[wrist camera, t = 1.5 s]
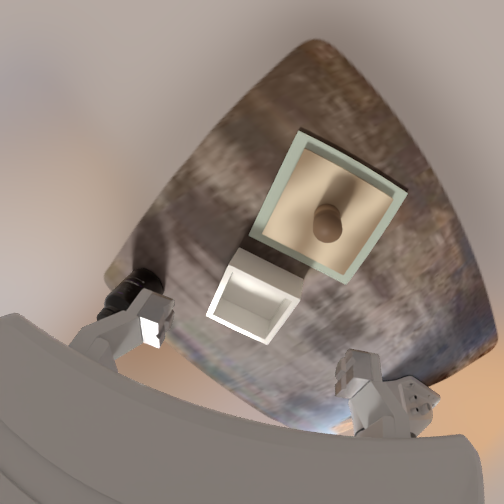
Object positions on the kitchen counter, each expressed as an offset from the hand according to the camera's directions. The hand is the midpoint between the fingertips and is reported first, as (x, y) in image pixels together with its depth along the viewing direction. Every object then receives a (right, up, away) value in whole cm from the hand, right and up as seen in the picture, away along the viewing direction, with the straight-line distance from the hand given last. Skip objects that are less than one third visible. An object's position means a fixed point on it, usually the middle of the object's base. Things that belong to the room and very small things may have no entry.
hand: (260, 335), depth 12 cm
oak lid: (+9, +8, +21) cm, 24 cm away
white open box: (+1, -2, +29) cm, 29 cm away
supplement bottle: (-19, -2, +34) cm, 39 cm away
